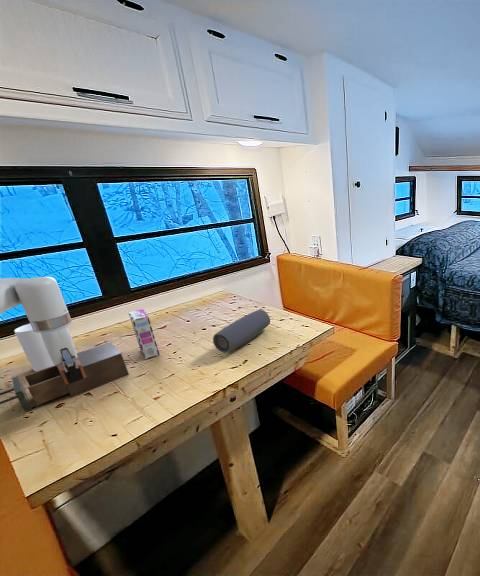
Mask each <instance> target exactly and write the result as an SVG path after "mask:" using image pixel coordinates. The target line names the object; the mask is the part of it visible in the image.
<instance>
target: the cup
mask: <svg viewBox="0 0 480 576" xmlns="http://www.w3.org/2000/svg"><path fill="white" fill-rule="evenodd" d="M13 332H14V334H15V337H16V338H17V340H18V342H19V344H20V346H21V348H22V350H23V353H24V354H25V356H26V358H27V360H28V362H29V364H30V366H31V368H32V370H33V371H34V372H37V371H40V370H42V369H45V368H48V367H51V366H54V364H53V362H52V360H51V358H50V355H49V353H48V351H47V349H46V346H45V344H44V342H43V339H42V336H41V333H36V332H34V331H33V329H32V326H31V324H30V323H27V324H23V325H21V326H19V327H17V328H15V329H14V330H13Z"/></svg>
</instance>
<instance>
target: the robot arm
mask: <svg viewBox="0 0 480 576" xmlns="http://www.w3.org/2000/svg"><path fill="white" fill-rule="evenodd" d="M20 305H21V306H22V308H23V310H24V314H25V315H26V317H27V319H28V321H29V324H31V326H32V329H33V331H34V332H36V333H41V336H42V339H43V342H44V344H45V346H46V349H47V351H48V353H49V355H50V358H51V360H52V362H53V364H54V365H58V364H60V363H61V364H62V366H63V368H64V370H65V371H64V374H65V376H66V378H67V381H68V383H69V384H70V383H73V382H76V381H79V380H81V379H83V378H84V377H83V375H82V372H81V370H80V367H78V365H77V363H76V360H75V359H76V358H77V357H78V356H77V353H78V352H77V348H76V345H75V342H74V339H73V336H72V334H71V330H70V328H69V326H70V325H72V324H73V320H72V318H71V315H70V313H69V310H68V307H67V305H66V301H65V299H64V297H63V294H62V292H61V289H60V286H59V284H58V282H57V280H56V279H55V278H54V277H52V276H38V277H37V276H35V277H29V278H21V277H3V278H0V315H1V314H3V313H4V312H7V311H8V310H11V309H12V308H16V307H18V306H20ZM72 361H73V362H72ZM65 364H67V365H66V366H65Z"/></svg>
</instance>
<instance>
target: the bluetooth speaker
mask: <svg viewBox="0 0 480 576" xmlns="http://www.w3.org/2000/svg"><path fill="white" fill-rule="evenodd" d="M270 324H271V318H270V315H269V314H268V312H267V311H265V310H264V309H256V310H254V311H252V312H249V313H248V314H246V315H245V316H242V317H241V318H239V319H237V320H235V321H233V322H231V323H230V324H228V325H227V326H225V327H224V328H222V329H220V330H219V331H218V332H216V333H215V334H214V335H213V336H212V343H213V345H214V347H215V349H217V350H218V351H219V352H221V353H225V354H227V353H229V352H232V351H233V350H235V349H237V348H239V349H240V348H241V347H243V346H244V345H246V344H248V343H249V342H252V340H254V339H255V338H256V337H257V335H258V334H260V333H261V332H262V331H264V330H265V329H266V328H267V327H268V326H270Z"/></svg>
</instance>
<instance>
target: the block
mask: <svg viewBox="0 0 480 576" xmlns="http://www.w3.org/2000/svg"><path fill="white" fill-rule="evenodd" d="M72 362H73V361H72ZM76 363H77V365H78V367H80V370H81V372H82V375H83V377H84V378H86V375H85V372H84V370H83V367H82V365H81V363H80V361H79V360H76ZM66 365H67V364H65V366H66ZM58 368H59V370H60V373H61V375H62V377H63V380H64V382H65V384H69V383H68V381H67V378H66V376H65V374H64V371H65V370H64V368H63V366H62V365H60V366H58Z"/></svg>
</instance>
